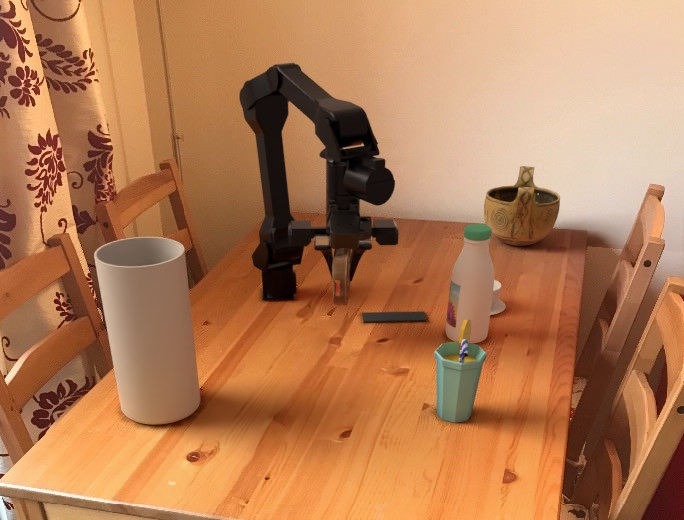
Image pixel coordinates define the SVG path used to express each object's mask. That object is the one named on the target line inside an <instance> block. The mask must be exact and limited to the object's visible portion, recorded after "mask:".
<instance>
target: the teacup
mask: <svg viewBox="0 0 684 520" xmlns="http://www.w3.org/2000/svg"><path fill="white" fill-rule="evenodd" d="M502 287H503V286H502V283H501V282H500V281H498V280H496V279H494V288H493V297H492V305H491V313H490V316H491V315H497V314H499V313H502V312H503V311H504V310H505V309H506V307H507V306H506V303H505V302H504V301H503V300H501V299H499V298H500V295H501V291H502Z"/></svg>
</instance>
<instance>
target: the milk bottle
mask: <svg viewBox="0 0 684 520" xmlns="http://www.w3.org/2000/svg"><path fill="white" fill-rule="evenodd" d="M463 229H464V230H463V239H462V240H463V241H464V243H463V247H462V249H461V251H460V254H459V256H458V257H457V258H456V260H455V262H454V265H453V267H452V270H451V275H450V283H449V289H448V290H449V292H448V299H447V300H448V302H447V310H446V319H445V320H446V322H445V336H446V337H447V338H448V339H449V340H451V341H452V342H456V341H459V336H460V329H461V326H462V324H463V321H464V320H471V335H470V341H469V343H472V344H477V343H478V344H479V343H482V342H484V341H485V340H486V339H487V337H488V335H489V327H490V320H491V315H490V313H491V305H492V297H493V288H494V280H495V266H494V263H493V260H492V257H491V254H490V248H489V246H490V242H491V237H492V233H491V232H492V229H491V227H490V226H488V225H486V224H485V223H483V224H482V223H471V224H466V225H465V227H464V228H463Z"/></svg>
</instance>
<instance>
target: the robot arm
mask: <svg viewBox="0 0 684 520" xmlns="http://www.w3.org/2000/svg"><path fill="white" fill-rule="evenodd" d="M238 96H239V97H238V98H239V102H240V106H241V108H242V114H243V119H244V120H245V122H246V123H247V125H248V126H249V127H250V129H251V131H252V132H253V133H254V136H255V142H256V143H255V144H256V152H257V159H258V167H259V176H260V184H261V185H260V186H261V192H262V199H263V200H262V201H263V208H264V218H263V220H262V223H261V226H260V228H259V230H258V239H259V243H258V245H257V247H256V248H255V250H254V251H253V253H251V259H252V264H253V267H254V268H256V269H258V270H260V271H261V284H262V285H261V286H262V292H261V293H262V294H261V300H262V301H293V300H295V295H296V294H297V270H296V269H294V266H298V265H301V264H302V260H303V256H304V251H305V247H308V246H309V245H310V244H311V243H312V239H313V246H314V247H313V248H314V250H315V251H317V252H318V251H319V252H321V254H322V256H323V258H324V260H325V262H326V264H327V267H328V272H329V274H330V277H331V278H332V264H333V256H334V253H333V250H335V249H340V248H350V249H351V260H350V269H349V281H350V283H351V282H353V279H354V276H355V274H356V272H357V268H358V265H359V264H360V261H361V259H362V257H363V255H364V253H366V251H370V250H372V249H373V244H372V241H373V239H375V242H376V243H377V244H378V245H379V246H397V245H399V234H400V233H399V228H398V224H397V222H396V221H395V220H394V218H392V219H391V218H389V219H388V218H387V219H386V218H384V219H383V218H379V219H373V220H372V216H362V215H361V201H363V202H366V203H368V204H370V205H373V206H379V207H380V206H383V205H385V204H386V203H387V202H388V201H389V200H390V199H391V198H392V197H393V196H392V195H393V194H394V191H395V187H396V180H395V178H394V174H393V172H392V171H391V170H390V169H389V168H388V167H386V159H385V158H383V157H378V156H380V152H381V151H380V149H379V146H378V144H379V142H378V140H377V138H376V135H375V134H374V132H373V129H372V125H371V122H370V120H369V117H368V114H367V113H366V110H364V108H363V107H362V106H359V105H357V104H356V103H353V102H351V101H348V100H343V99H338V98H336V97H333V96H332V95H331V94H330V93H329V92H327V91H326V90H325V89H324V88H323V87H322V86H320V84H318V83H317V82H316V81H314V80H313V79H312V78H311V77H310V76H309V75H307V74H306V73H305V72H304V71H303V70H302V69H301V66H300V65H299V64H298V63H295V62H286V63H285V62H284V63H277V64H273V65H271V66H269V68H267V70H266V71H264V72H262V73H261V74H258V75H257V76H254V77H253V78H251V79H249V80H245V81H244V83H243V86H242V88H241V89H240V91H239V95H238ZM289 103H291V104H292V105H293V106H294V107H295V108H297V110H299V111H300V112H301V113H302V114H303V115H304V116H305V117H307V119H309V120H310V121H311V122H312V123H313V124H314V134H315V135H316V137H317V139H318V140H319V141H320V142H321V144H322V145H323V146H324V148H323V149H322V150H321V151H320V152H319V158H322V159H325V226H312V221H311V220H310V219H309V220H296V218H294V216H293V215H292V212H291V204H290V195H289V186H288V175H287V168H286V158H285V157H286V156H285V149H284V139H283V129H284V127H285V125H286V122H287V121H288V117H289V116H290V115H289V114H290V113H289Z"/></svg>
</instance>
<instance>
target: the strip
mask: <svg viewBox="0 0 684 520" xmlns="http://www.w3.org/2000/svg"><path fill="white" fill-rule="evenodd" d="M361 315H362V321H363V323H364V324H368V323H369V324H375V323H377V324H379V323H426V322H427V318H426V315H425V311H378V312H376V311H374V312H373V311H372V312H371V311H370V312H362V314H361Z"/></svg>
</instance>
